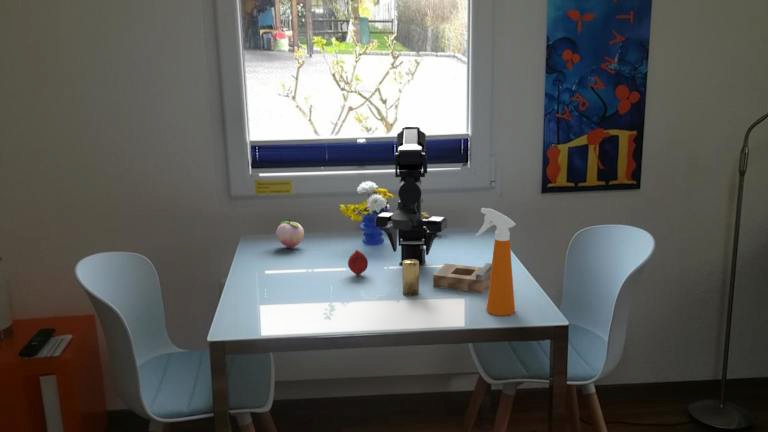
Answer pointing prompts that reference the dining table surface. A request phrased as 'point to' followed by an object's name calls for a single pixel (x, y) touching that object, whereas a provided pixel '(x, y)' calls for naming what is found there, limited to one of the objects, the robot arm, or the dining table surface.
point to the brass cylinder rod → (410, 277)
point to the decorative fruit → (290, 233)
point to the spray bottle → (500, 265)
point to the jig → (463, 277)
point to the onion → (357, 262)
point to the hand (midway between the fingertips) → (410, 253)
